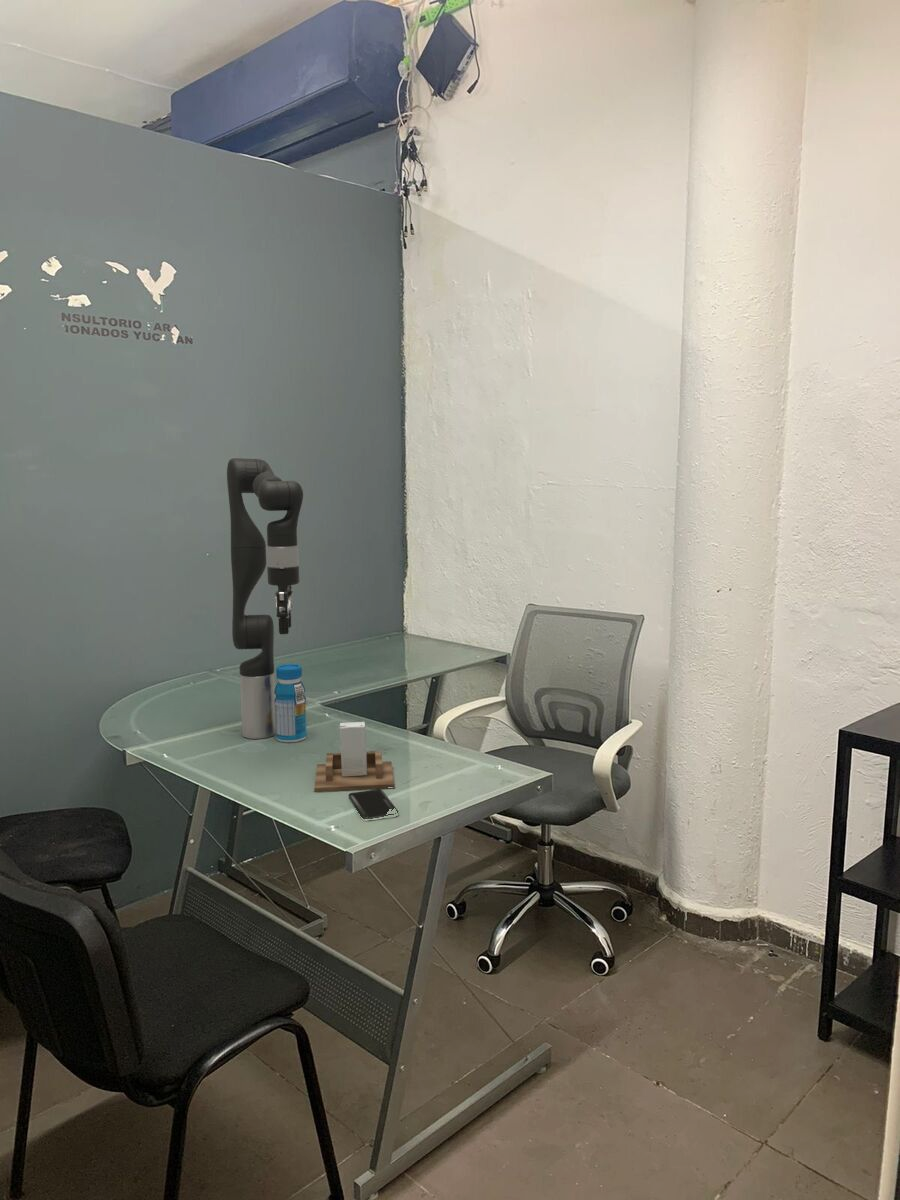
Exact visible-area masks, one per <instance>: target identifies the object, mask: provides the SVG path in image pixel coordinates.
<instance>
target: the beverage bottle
mask: <svg viewBox="0 0 900 1200" xmlns="http://www.w3.org/2000/svg"><path fill="white" fill-rule="evenodd" d="M275 673H276V674H275V675H276V680H278V682H277V683H276V684H275V690H274V693H275V699H274V705H275V720H276V734H275V738H276V740H277V741H278V742H281V743H296V742H297V743H298V742H301V741H303V740H305V739H306V738H307V714H306V712H307V710H306V709H307V707H306V703H307V698H306V696H305V692H306V688H305V685H304V684H303V682H302V681H301V679H303V678H302V677H303V668H302V665H300V664H298V663H297V664H296V663H286V664H285V663H284V664H280V665H278V666H276V669H275Z"/></svg>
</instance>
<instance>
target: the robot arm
mask: <svg viewBox="0 0 900 1200" xmlns="http://www.w3.org/2000/svg"><path fill="white" fill-rule="evenodd" d="M227 462H228V463H227V467H226V483H227V494H228V502H229V504H228V505H229V512H230V513H229V515H230V517H229V518H230V561H231V563H230V564H231V575H232V576H231V577H232V618H231V619H232V622H231V623H232V624H231V625H232V631H231V635H232V636H231V637H232V643H233V646H234V648H235V649H237V650H260V649H261V652H259V654H257V655H256V656H255V657H252V658H250V659H247V660H244V661H242V662H241V663H240V664H239V682H240V683H239V686H240V687H239V688H240V704H241V705H240V708H241V709H240V710H241V729H242V733H241V735H242V736H243V738H246V739H251V740H253V739H254V740H255V739H256V740H257V739H267V738H270V737H271V738H272V737H273V736H276V720H275V705H274V699H275V697H276V695H275V693H274V690H275V687H276V680H275V661H274V660H275V658H274V641H275V640H274V639H275V638H274V636H275V631H274V629H275V628H274V619H273V618H272V616H271V615H270V614H245V611H246V606H247V603H248V600H249V599H250V596H251V594H252V592H253V590H254V589H255V587H256V585H257V584H258V582H259V580H260V579H261V578H262V576H263V575H264V572H265V570H267V571H266V572H267V584H268V585H270V586H277V590H276V591H275V593H274V598H275V609H276V617H277V619H278V633H279V634H280V635H288V634H289V632H290V631H289V628H291V627H292V616H291V615H292V611H293V608H292V607H293V603H294V602H293V601H294V600H293V598H294V592H293V590H292V588H293V587H292V586H295V585H297V584H299V583H300V561H299V560H300V556H299V549H298V534H297V533H298V529H297V528H298V522H299V516H300V512H301V508H302V504H303V501H304V490H303V488H302V486H301V485H300V483H299V482H297V481H294V480H282V478H280V477H278V476H277V475H275V473H274V471H273V469H272V467H271V466H270V465H269V464H268V462H266V461H265V460H263V459H261V458H242V457H241V458H238V457H237V458H236V457H235V458H230V459H229V460H228V461H227ZM243 494H255V496H256V497H257V500H258V503H259V506H260V508H261V509H262V510H265V511H268V512H279V511H285V512H286V513H285V515H284V516H283V518H281V519H278V520H273V521H270V522H269V523H268V524H267V526H266V540H267V541H266V540H265V538H264V536H263V534H262V533H261V530H260V529H259V528H258V527H257V526H256V523H254V521H253V519H252V518H251V516H250V515H249V513H248V511H247V509H246V507H245V502H244V499H243ZM266 543H267V544H266ZM266 545H267V546H266ZM266 547H267V548H266Z"/></svg>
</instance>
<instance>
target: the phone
mask: <svg viewBox="0 0 900 1200" xmlns="http://www.w3.org/2000/svg"><path fill="white" fill-rule="evenodd" d="M348 799H349V801H350V803H351V804H352V806H353V805H354V806H353V807H355V808H356V809H355V808H354V809H355V811H356V810H357V811H358V812H357V811H356V812H357V814H358V813H359V814H360V816H361V817H362V818H363V819H373V818H379V817H384V816H388V815H394V814H388V815H386V814H387V812H388V811H389V809H392V810H393V809H394V808H395V809H396V811H397V813H398V812H399V810H398V809H397V808H396V806H395V805H394V803H393V802H392V800H390V798H389V797H388V796H387V794H386V793H385V792H384V791H383V789H371V790H361V791H356V792H349V793H348ZM392 810H391V811H392ZM359 814H358V815H359ZM395 814H396V813H395ZM360 816H359V817H360ZM361 817H360V818H361Z"/></svg>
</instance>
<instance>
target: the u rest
mask: <svg viewBox="0 0 900 1200" xmlns="http://www.w3.org/2000/svg"><path fill="white" fill-rule="evenodd" d="M366 754H367V775H363V776H344V777H343V776H342V767H341V752H329V753H328V752H326V758H325V759H326V760H325V763H320V764H319V763H318V764H316V772H315V778H314V787H313V788H314V789H313V791H314V793H321V792H323V793H326V792H345V791H349V792H350V791H368V790H367V789H371V790H380V789H379V788H388V787H394V788H395V781H394V779H395V778H394V771H393V764H392V761H391V760H389V761H387V760H386V761H383V757H382V750H376V751H375V750H374V751H366Z"/></svg>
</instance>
